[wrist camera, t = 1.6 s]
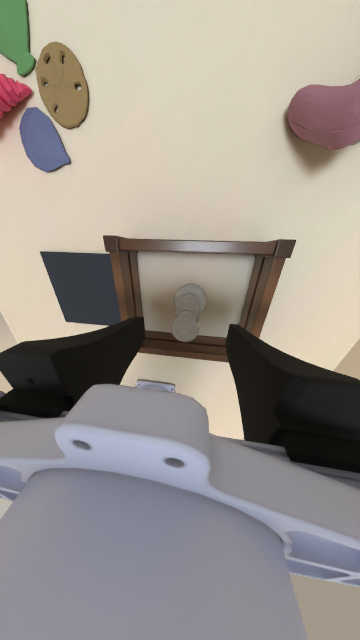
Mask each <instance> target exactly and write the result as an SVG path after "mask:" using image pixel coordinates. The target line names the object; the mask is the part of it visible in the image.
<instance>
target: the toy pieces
mask: <svg viewBox="0 0 360 640" xmlns="http://www.w3.org/2000/svg"><path fill="white" fill-rule="evenodd" d="M0 52H1V53H2V54H3V55H5V56H6V57H7V58H9V59H10V60H12V61H13V62H15V63H17V73H18V74H19V75H22V76H25V75H26V74H28V73H29V72H30V71H31V70H32V69H33V67H34V64H35V58H34V57H33V56H32V55H31V54H30V53H29V32H28V18H27V5H26V0H0ZM62 55H64V56H65V60H64V64H63V62H62ZM49 57H51V58H50V61H49V63H48V64H47V63H46V61H47V59H48V58H49ZM36 74H37V81H38V87H39V92H40V96H41V98H42V101H43V103H44V105H45V106H46V108H47V110H48V112H49V113H50V115H51V116H52V117H53V118H54V119H55V121H57V122H58V123H59V124H60V125H62V126H64V127H67V128H71V127H75V126H78V125H79V124H80V122H81V121H82V120H83V119H84V118H85V115H86V112H87V105H88V90H87V84H86V80H85V78H84V76H83V73H82V69H81V65H80V63H79V62H78V60H77V58H76V57H75V55H74V54H73V53H72V51H71V50H70V49H69V48H68V47H66V46H65V45H63V44H61V43H58V42H52V43H49V44H48V45H47V46H45V47H44V48H43V49H42V51H41V55H40V58H39V60H38V63H37V67H36ZM44 82H47V83H48V86H45V87H44ZM76 84H80V85H81V87H82V89H81V90H77V89H75V85H76ZM31 92H32V90H31V89H30V88H29V87H28V86H27V85H24V84H22V83H21V84H20V83H19V82H18V81H17V80H16V82H15V81H14V80H13V79H12V78H7V77H6V76H5V75H4V74H0V118H2V117H3V113H4V111H6V112H8V111H10V110H11V105H12V106H16V105H17V104H18V102H20V101H22V99H23V100H24V99H25V97H27V96H28V95H29V93H30V94H31ZM56 106H58V112H57V113H56V112H55V111H54V110H55V107H56ZM19 129H20V134H21V139H22V143H23V146H24V149H25V152H26V154H27V156H28V158H29V159H30V160H31V162H32V163H33V164H34V166H35V167H37V168H39V169H41V170H43V171H45V172H48V171H51V170H54V169H56V168H58V167H60V166H61V165H63V164H67V163H69V157H68V155H67V154H66V152H65V150H64V148H63V145H62V143H61V141H60V138H59V136H58V134H57V132H56V130H55V128H54V126H53V124H52V122H51V121H50V119H49V117H47V116H46V115H45V114H44V113H43V112H41V111H40V110H39V109H38V108H37V107H34V108H27V109H26V111H25V113H24V114H23V116H22V118H21V123H20V128H19Z"/></svg>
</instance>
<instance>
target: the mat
mask: <svg viewBox="0 0 360 640" xmlns="http://www.w3.org/2000/svg"><path fill="white" fill-rule="evenodd" d="M40 254H41V256H42V259H43V262H44V264H45V267H46V270H47V272H48V275H49V278H50V280H51V283H52V286H53V288H54V291H55V294H56V296H57V299H58V302H59V304H60V307H61V310H62V312H63V315H64V318H65V320H66V322H75V323H86V324H97V325H108V326H111V325H114V324H117V323H119V322H122V321H121V315H120V310H119V304H118V298H117V293H116V287H115V281H114V275H113V270H112V264H111V258H110V254H94V253H67V252H40Z"/></svg>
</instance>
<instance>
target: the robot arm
mask: <svg viewBox="0 0 360 640" xmlns="http://www.w3.org/2000/svg"><path fill="white" fill-rule="evenodd" d="M144 339H145V328H144V318H143V317H140V316H135V317H132V318H129V319H127V320H124V321H122V322H119V323H117V324H114V325H111V326H108V327H106V328H103V329H99V330H96V331H92V332H88V333H84V334H79V335H75V336H69V337H63V338H56V339H47V340H36V341H25V342H21V343H19V344H17V345H15V346H13V347H11V348H9V349H7V350H5V351H3V352H1V353H0V371H1V373H2V374H3V375H4V377H5V378H6V379H7V381H8V382H9V383H10V385H11V386H12V387H13V389H12V390H11V391H9V392H8V393H7V394H6V393H4V392H2V391H0V498H2V499H5V500H8V501H11V502H13V503H12V504H11V506H10V507H9V508H8V510H7V511H6V513H5V514H4V515H3V516H2V518H1V519H0V640H308V638H307V634H306V630H305V627H304V624H303V620H302V616H301V613H300V609H299V606H298V602H297V598H296V595H295V592H294V588H293V584H292V581H291V577H290V574H289V573H291V574H296V575H301V576H306V577H312V578H317V579H321V580H326V581H332V582H337V583H342V584H347V585H352V586H357V587H360V380H358V379H356V378H353V377H350V376H347V375H343V374H340V373H337V372H333V371H330V370H327V369H324V368H321V367H318V366H316V365H313V364H310V363H307V362H305V361H302V360H300V359H297V358H295V357H293V356H290V355H288V354H286V353H284V352H282V351H280V350H278V349H276V348H274V347H272V346H270V345H268V344H267V343H265V342H263V341H262V340H260V339H259V338H257V337H256V336H254V335H253V334H251V333H250V332H248V331H247V330H245V329H244V328H243V327H241V326H239V325H236V324H230V325H229V330H228V335H227V339H226V344H225V346H226V353H227V358H228V361H229V364H230V367H231V371H232V374H233V377H234V380H235V384H236V389H237V394H238V400H239V406H240V411H241V418H242V425H243V432H244V439H245V441H243V440H238V439H232V438H226V437H220V436H216V435H214V434H211V433H209V424H208V416H207V412H206V409H205V408H204V407H203V406H202V405H201V404H199V403H198V402H197V401H196V400H195V399H193V398H191V397H188V396H185V395H182V394H179V393H175V386H174V385H173V384H165V383H157V382H150V381H142V380H138V381H137V387H129V386H122V385H120V382H121V380H122V378H123V376H124V374H125V372H126V370H127V369H128V367H129V365H130V364H131V362H132V360H133V359H134V357H135V356H136V354H137V353H138V351H139V349H140V348H141V346H142V344H143V342H144Z"/></svg>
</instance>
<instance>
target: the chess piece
mask: <svg viewBox="0 0 360 640" xmlns="http://www.w3.org/2000/svg"><path fill="white" fill-rule="evenodd" d="M174 303H175V307H176V309H177V310H178V311H177V313H176V316H175V321H174V322H173V324H172V327H171V331H172V334H173V336H174V337H175V338H176V339H178V340H179V341H182V342H188V341H192V340H193V339H195V338H196V336H197V335H198V331H199V328H198V325H197V324H198V321H199V316H198V315H199V314H200V313H201V312H202V311H203V310H204V309H205V306H206V294H205V292H204V290H203V289H202V288H201V287H199V286H198V285H195V284H187V285H184V286H182V287H181V288H180V289H179V290H178V291H177V293H176V296H175V299H174Z"/></svg>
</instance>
